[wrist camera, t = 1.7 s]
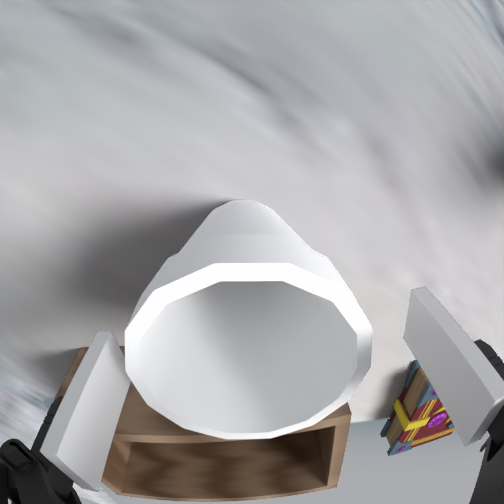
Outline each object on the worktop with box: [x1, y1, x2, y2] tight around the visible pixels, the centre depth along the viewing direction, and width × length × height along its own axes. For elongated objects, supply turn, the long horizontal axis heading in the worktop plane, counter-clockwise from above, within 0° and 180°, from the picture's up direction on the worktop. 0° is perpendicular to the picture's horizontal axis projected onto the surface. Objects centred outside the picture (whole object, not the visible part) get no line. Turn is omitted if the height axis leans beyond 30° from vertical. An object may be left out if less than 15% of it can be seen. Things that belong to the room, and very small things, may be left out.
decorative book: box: [380, 360, 455, 456], centre depth 31 cm, size 11×16×5 cm
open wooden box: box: [54, 346, 351, 502], centre depth 24 cm, size 23×14×10 cm, turn 98°
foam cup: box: [125, 200, 372, 439], centre depth 17 cm, size 10×9×13 cm
